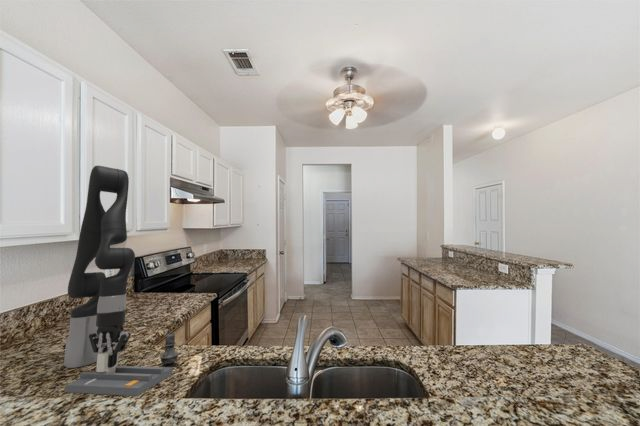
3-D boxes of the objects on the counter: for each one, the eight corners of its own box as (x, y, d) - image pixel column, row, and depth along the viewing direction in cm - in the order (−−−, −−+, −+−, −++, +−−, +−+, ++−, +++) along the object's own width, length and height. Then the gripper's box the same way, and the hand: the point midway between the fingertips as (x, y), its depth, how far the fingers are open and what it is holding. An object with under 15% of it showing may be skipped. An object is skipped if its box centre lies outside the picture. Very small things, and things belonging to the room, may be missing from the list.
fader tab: (94, 378, 83) (96, 354, 84) (109, 371, 88) (111, 348, 89) (103, 378, 82) (105, 354, 83) (118, 371, 87) (119, 349, 88)
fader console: (65, 392, 79) (66, 379, 79) (109, 371, 93) (110, 360, 93) (137, 396, 75) (138, 382, 76) (172, 373, 89) (172, 362, 89)
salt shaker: (170, 369, 92) (171, 332, 94) (155, 369, 93) (157, 332, 95) (182, 363, 98) (183, 328, 100) (167, 362, 99) (169, 328, 101)
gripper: (81, 312, 85) (76, 370, 83) (120, 311, 83) (115, 372, 81) (104, 307, 93) (99, 361, 90) (140, 307, 91) (136, 362, 88)
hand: (107, 366), depth 85 cm, fingers closed on fader tab, 2 cm apart
